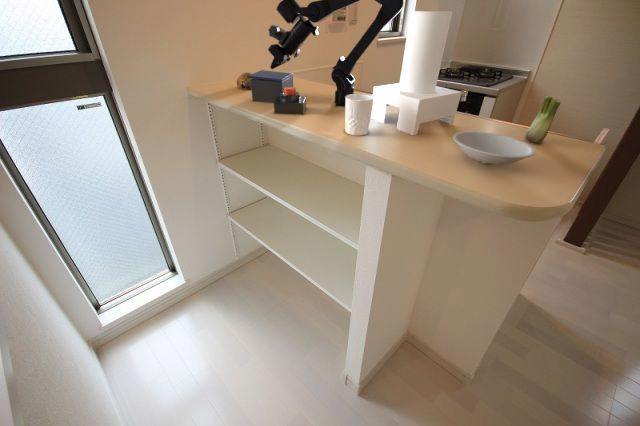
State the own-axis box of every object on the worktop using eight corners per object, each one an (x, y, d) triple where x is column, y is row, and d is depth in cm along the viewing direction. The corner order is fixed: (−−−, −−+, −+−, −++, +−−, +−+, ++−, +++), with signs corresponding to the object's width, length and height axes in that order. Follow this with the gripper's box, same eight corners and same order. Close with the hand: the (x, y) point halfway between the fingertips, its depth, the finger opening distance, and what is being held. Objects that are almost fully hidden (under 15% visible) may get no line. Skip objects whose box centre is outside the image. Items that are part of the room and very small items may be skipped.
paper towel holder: (412, 135, 87) (436, 12, 70) (370, 118, 100) (381, 10, 83) (452, 124, 96) (483, 12, 79) (409, 110, 109) (426, 11, 92)
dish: (531, 162, 73) (540, 143, 70) (520, 184, 64) (529, 163, 61) (458, 144, 82) (463, 126, 79) (439, 161, 73) (444, 142, 70)
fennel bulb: (543, 146, 82) (564, 101, 75) (523, 142, 84) (541, 98, 77) (542, 139, 86) (562, 96, 79) (523, 136, 88) (540, 93, 81)
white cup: (369, 128, 92) (373, 94, 87) (370, 137, 86) (374, 101, 80) (343, 126, 93) (345, 93, 87) (342, 135, 86) (345, 100, 81)
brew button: (296, 93, 105) (296, 86, 103) (294, 95, 101) (294, 89, 100) (285, 92, 105) (285, 86, 104) (283, 95, 102) (282, 89, 100)
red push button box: (306, 108, 109) (305, 91, 106) (303, 114, 103) (302, 96, 99) (279, 107, 110) (277, 90, 106) (274, 113, 103) (273, 95, 100)
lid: (248, 78, 112) (247, 75, 111) (261, 72, 122) (261, 70, 121) (281, 81, 109) (281, 79, 109) (292, 75, 119) (292, 73, 119)
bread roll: (262, 95, 138) (265, 77, 136) (246, 89, 129) (250, 69, 127) (246, 92, 142) (249, 75, 140) (230, 86, 133) (233, 67, 131)
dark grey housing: (252, 101, 116) (250, 79, 112) (265, 93, 126) (263, 73, 122) (283, 103, 114) (281, 82, 109) (293, 96, 124) (292, 75, 119)
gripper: (290, 15, 110) (265, 48, 119) (271, 16, 96) (244, 53, 104) (311, 40, 113) (285, 70, 122) (295, 45, 98) (267, 79, 107)
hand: (271, 68), depth 114 cm, fingers closed
